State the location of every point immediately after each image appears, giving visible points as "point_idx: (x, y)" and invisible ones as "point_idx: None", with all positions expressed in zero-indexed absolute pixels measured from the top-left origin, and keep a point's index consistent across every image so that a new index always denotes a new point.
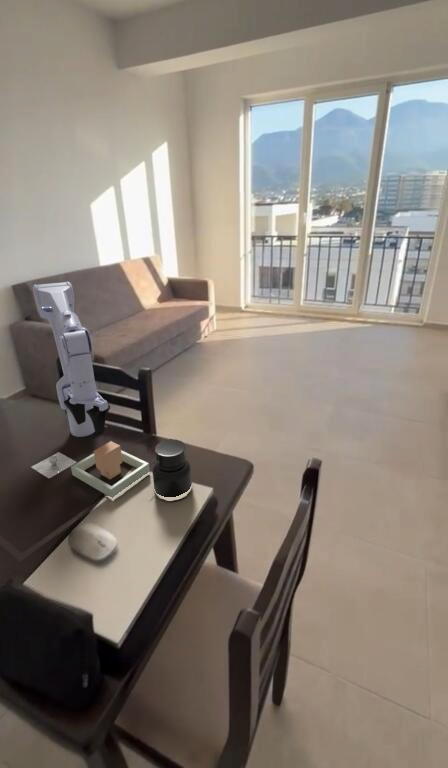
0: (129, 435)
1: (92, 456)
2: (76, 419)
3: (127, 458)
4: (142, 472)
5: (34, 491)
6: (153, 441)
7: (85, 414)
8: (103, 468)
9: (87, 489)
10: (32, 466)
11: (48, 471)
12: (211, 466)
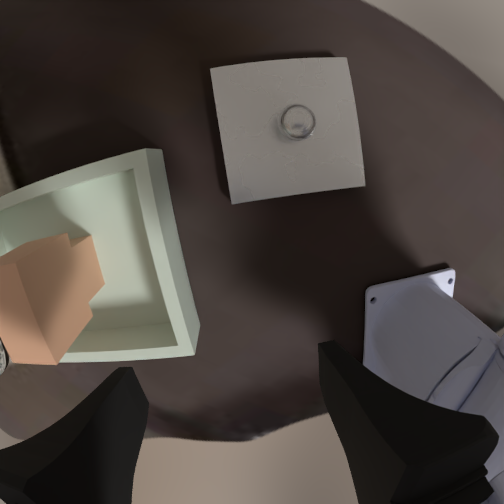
0: (267, 412)
1: (154, 262)
2: (331, 365)
3: (85, 345)
4: None
5: (199, 17)
6: (181, 431)
7: (416, 389)
8: (21, 246)
9: (71, 164)
10: (345, 63)
11: (260, 86)
12: (24, 419)
